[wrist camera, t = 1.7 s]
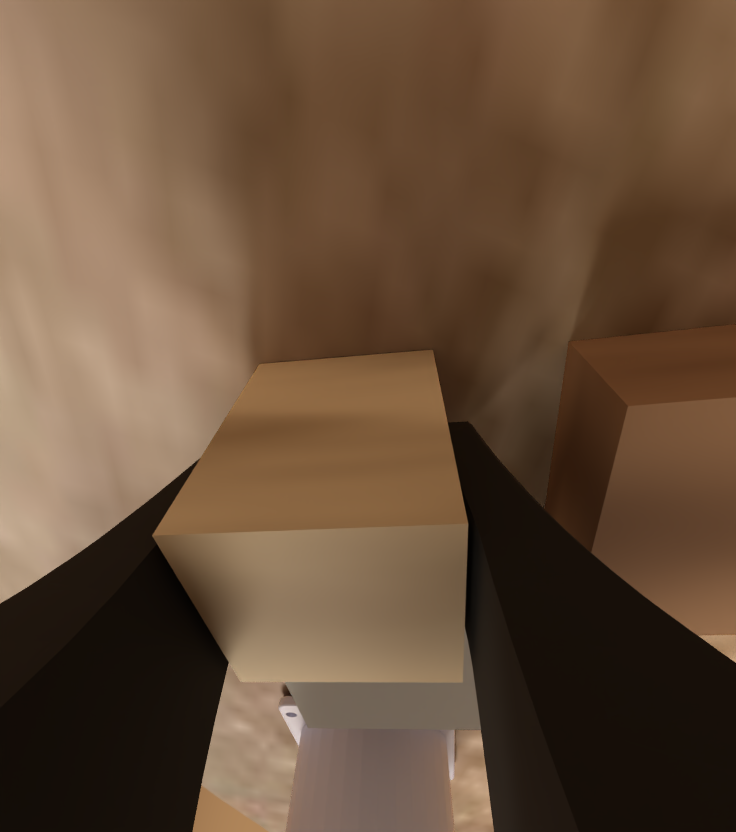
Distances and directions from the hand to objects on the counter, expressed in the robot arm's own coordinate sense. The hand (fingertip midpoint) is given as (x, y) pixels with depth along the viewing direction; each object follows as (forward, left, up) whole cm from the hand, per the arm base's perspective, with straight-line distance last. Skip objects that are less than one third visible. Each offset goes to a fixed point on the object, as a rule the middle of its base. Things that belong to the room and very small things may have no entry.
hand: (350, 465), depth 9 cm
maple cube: (0, 0, -1) cm, 1 cm away
